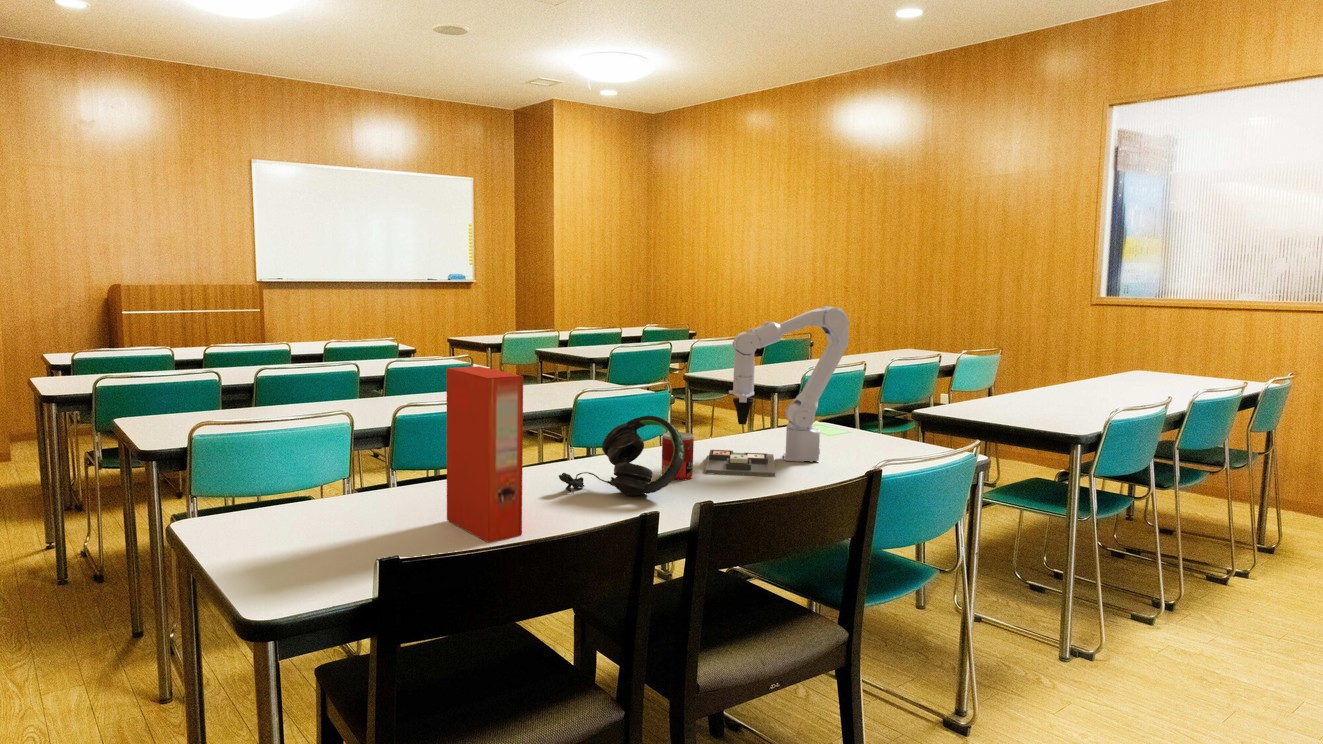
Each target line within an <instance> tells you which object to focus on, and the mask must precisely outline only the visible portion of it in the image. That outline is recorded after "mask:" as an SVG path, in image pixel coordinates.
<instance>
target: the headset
mask: <svg viewBox="0 0 1323 744" xmlns="http://www.w3.org/2000/svg"><path fill="white" fill-rule="evenodd" d="M646 426H659V427H662V428H664V429H665V430H667V433H668V432H669V433H670V436H671V440H672V444H673V446H674V453H673V458H672V460H671V463H670V465H669V467H668V468H667V470H666V471H665V472H664V473H663V474H662V473H661V475H660V476H659V477H658V478H656V479H655V480H653V481H652V479H653V474H654V473H653V471H652V469H650V468H648V467H647V466H643V465H640V464H636V463H632V462H634V460H636V459H637V458H638V457H639V456H640V455H641V454H642V452H643V451H644V448H645V442H644V440H643V438H642V437H641V436H640V434H638V430H639V429H640V428H643V427H646ZM679 432H680V431H679V430H678V429H677V428H676V427H675V426H674V425H673V424H672V423H671V422H668V421H667V420H666V419H664V418H661V417H659V416H656V415H643V416H640V417H636V418H633V419H631V420H629V421H627V422H625V423H622V424H619V425H617V426H616V427H614V428H613V429H612V430H611V431H610V432H608V433H607V435H606V436H605V438H604V439H603V441H602V445H601V449H602V452H603V454H604V455H605V456H606V457H607V458H608V461H609V462H610V464H612V465H613V466H614V468H613V475H614V476H615V477H613V476H611V477H610V480H604V479H601V478H600V477H599V476H598V475H596V474H594V473H592V472H588V471H586V472H580V473H577V474H576V476H575V478H573V477H572V475H570V474H569V473H566V472H562V473H561V474H559V475H558V478H559V480H560V481H561V482H563V483H565V484H567V486H566V487H565V490H566V491H567V492H570V493H572V494H574V491H573V490H572V488H573V489H574V490H578V489H579V488H581V489H583V488H584V487H585V485H584V478H583V477H582V476H581V477H579V478H578V476H580V475H582V474H583V475H584V474H588V475H592V476H594V477H595V478H596V479H598V480H599V481H601V482H604V483H606V484H607V485H608V484H610V486H612V487H615V488H616V489H617V490H618V491H619V492H620V493H622V494H623V495H627V496H635V497H637V496H640V495H643V494H645V493H646V494H653V493H657V492H658V491H660V490H662V489H664V488H666V487H667V486H668V485H670V483H672V482H673V481H675V480H674V478H675V477H676V476H677V474H678V473H679V471H680V469H681V467H682V464H683V460H684V444H683V440H682V437H681V435H680V433H679ZM571 487H572V488H571Z"/></svg>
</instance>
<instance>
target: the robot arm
mask: <svg viewBox="0 0 1323 744" xmlns="http://www.w3.org/2000/svg"><path fill="white" fill-rule="evenodd" d="M850 323H851V322H850V319H849V317H848V315H847V313H846V311H845V310H843V309H842V308H841V307H834V306H831V305H826V306H825V305H824V306H821V308H820V307H819V308H814V309H812V310H808V311H806V312H803V313H801V314H799V315H796V316H794V317H792V318H790V319H788V320H786V321H782V322H780V323H777V322H775V321H768V320H766V321H764V322H763V324H762V325H760V326H758V327H755V328H752V327H750V328H748V329H747V330H748V331H747V332H745V331H743V332H740V333H739V332H738V333H737V334H736V335H735V337H734V339H733V341H732V346H733V348H734V359H733V380H732V381H733V382H732V383H733V385H732V386H733V387H732V390H728V394H729V395H733V396H735V397H734V398H732V403H733V405H734V407H735V410H736V416H737V417H736V419H737V422H738V425H747V423H748V418H749V412H750V410H751V407H752V405H753V404H754V398H753V397H752V396H755V391H754V390H755V366H756V365H755V361H756V360H755V352H756V351H757V349H759V350H760V349H762V348H765V347H767V346H769V345H772V344H775V343H777V342H780V341H781V340H782V337H783V335H786V334H789V333H792V332H795V331H798V330H801V329H804V328H806V327H809V326H811V327H812V326H813V327H819V328H821V329H822V331H823V332H824V334H825V336H826V339H827V345H826V347H825V348H824V350H823V352H822V354H821V356H820V357H819V360H818V361H817V363H816V364H815V367H814V369H813V370H812V372H811V374H810V376H809V378H808V380H807V381H806V383H805V385H804V387H803V389H802V391H801V392H800V393H798V394H797V395H796V397H795V398H794V400H793V401H792V402H791V403H789V404H788V405H787V407H786V408H785V418H786V419H787V421H788V422H787V424H786V429H785V430H786V431H785V453H783V460H784V461H786V462H804V461H810V462H809V463H814V462H813V461H816V462H815V463H818V462H817V461H819V462H820V452H821V451H820V450H821V449H820V442H821V441H820V437H821V434H820V432H821V431H820V429H819V428H813V424H814V422H815V419H816V412H817V410H818V407H819V400H820V398H821V396H822V394H823V392H824V391H825V389H826V387H827V385H828V383H829V381H830V380H831V378H832V376H833V374H834V373H835V371H836V368H837V367H838V365H839V363H840V362H841V359H842V358H843V356H844V354H845V352H846V350H847V348H848V346H849V344H850V343H849V342H850V340H849V337H850V336H849V327H850Z"/></svg>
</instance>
